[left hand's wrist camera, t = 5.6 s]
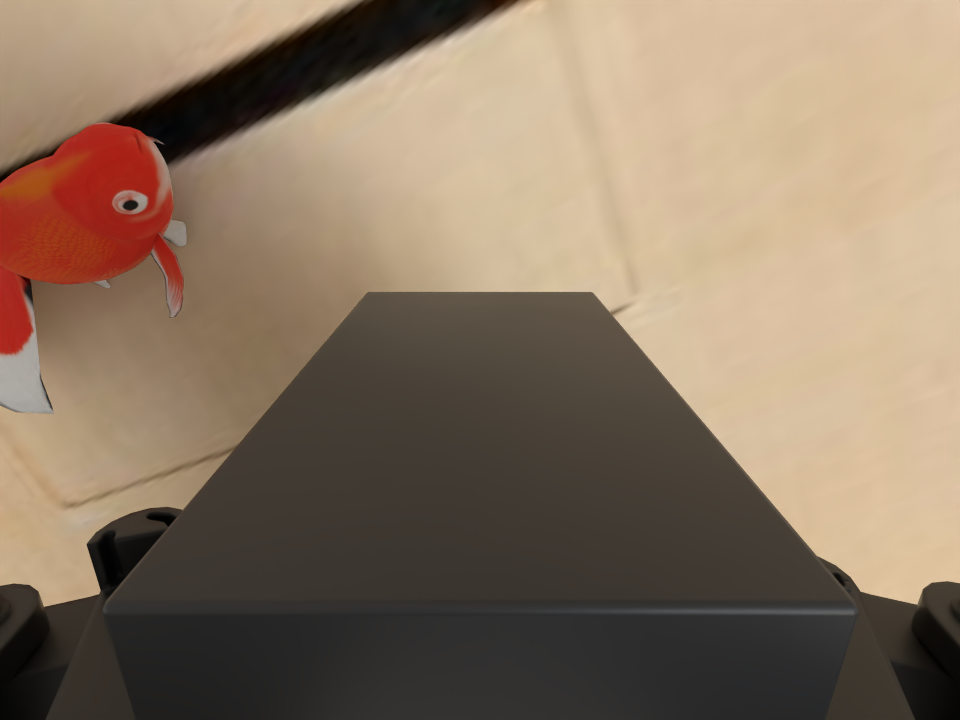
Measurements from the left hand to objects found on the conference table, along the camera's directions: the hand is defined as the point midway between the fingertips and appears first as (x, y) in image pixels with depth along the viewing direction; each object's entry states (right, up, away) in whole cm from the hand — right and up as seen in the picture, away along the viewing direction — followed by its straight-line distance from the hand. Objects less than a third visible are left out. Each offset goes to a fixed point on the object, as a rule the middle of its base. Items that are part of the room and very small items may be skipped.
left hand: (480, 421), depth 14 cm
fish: (-17, +6, +10) cm, 21 cm away
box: (0, -7, +5) cm, 9 cm away
